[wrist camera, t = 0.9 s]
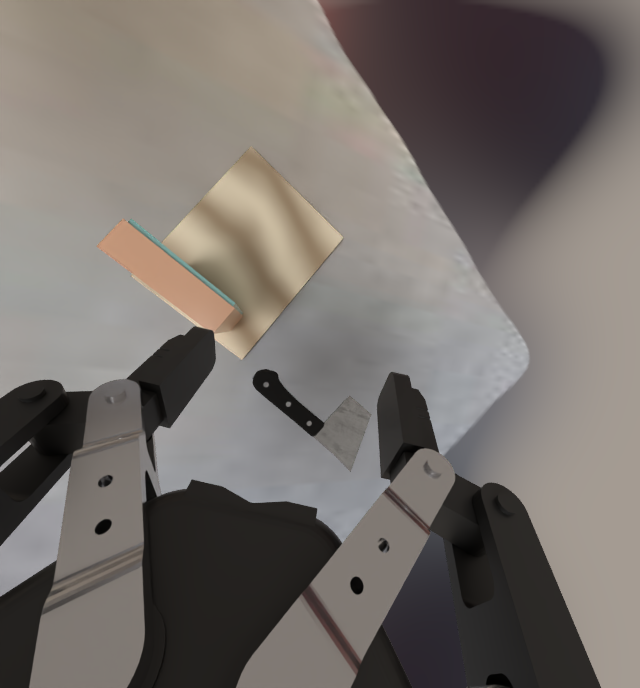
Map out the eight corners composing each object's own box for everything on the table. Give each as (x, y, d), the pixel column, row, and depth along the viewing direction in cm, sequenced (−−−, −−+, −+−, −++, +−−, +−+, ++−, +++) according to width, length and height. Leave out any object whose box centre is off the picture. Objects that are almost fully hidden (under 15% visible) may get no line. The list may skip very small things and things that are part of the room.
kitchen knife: (303, 325, 33) (243, 384, 31) (304, 325, 32) (243, 385, 31) (439, 468, 39) (394, 522, 38) (441, 470, 38) (396, 524, 37)
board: (242, 359, 31) (241, 359, 30) (133, 277, 28) (130, 275, 27) (342, 239, 33) (343, 237, 32) (251, 149, 30) (251, 146, 29)
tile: (230, 331, 30) (212, 334, 17) (168, 283, 28) (96, 246, 15) (244, 314, 30) (237, 304, 17) (183, 265, 28) (126, 214, 15)
